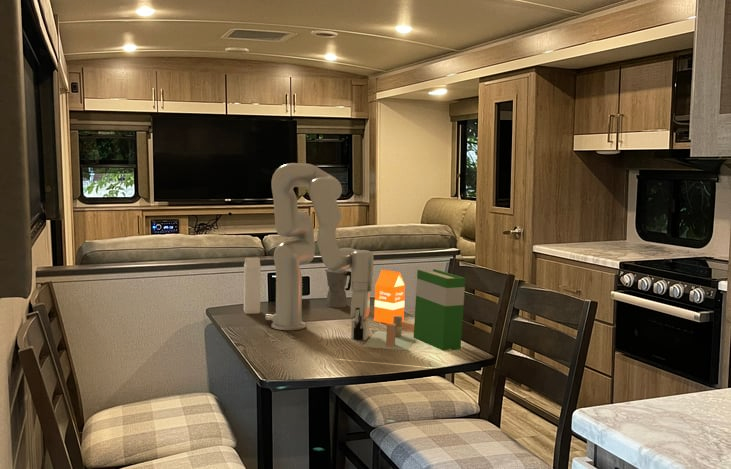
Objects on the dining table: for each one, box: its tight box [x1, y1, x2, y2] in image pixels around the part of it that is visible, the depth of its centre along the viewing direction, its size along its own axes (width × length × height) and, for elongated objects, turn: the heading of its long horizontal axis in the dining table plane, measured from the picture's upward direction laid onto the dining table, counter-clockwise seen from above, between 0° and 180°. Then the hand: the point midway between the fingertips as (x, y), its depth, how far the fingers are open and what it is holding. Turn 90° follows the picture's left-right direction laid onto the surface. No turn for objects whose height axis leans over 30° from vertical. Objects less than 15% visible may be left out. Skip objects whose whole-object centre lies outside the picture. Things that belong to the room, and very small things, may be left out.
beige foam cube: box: [350, 317, 370, 341], centre depth 236 cm, size 5×5×7 cm
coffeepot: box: [325, 268, 351, 309], centre depth 288 cm, size 15×9×18 cm, turn 51°
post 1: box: [386, 323, 396, 347], centre depth 227 cm, size 3×3×7 cm
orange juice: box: [373, 269, 406, 324], centre depth 261 cm, size 8×9×20 cm
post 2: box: [393, 315, 403, 337], centre depth 239 cm, size 3×3×7 cm
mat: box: [362, 330, 416, 351], centre depth 233 cm, size 15×22×1 cm
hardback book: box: [413, 268, 466, 351], centre depth 231 cm, size 18×7×24 cm, turn 28°
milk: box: [243, 257, 262, 314], centre depth 272 cm, size 6×6×22 cm
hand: (360, 337), depth 236 cm, fingers closed on beige foam cube, 5 cm apart
